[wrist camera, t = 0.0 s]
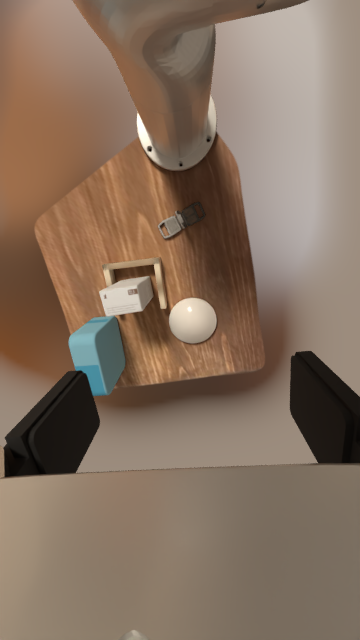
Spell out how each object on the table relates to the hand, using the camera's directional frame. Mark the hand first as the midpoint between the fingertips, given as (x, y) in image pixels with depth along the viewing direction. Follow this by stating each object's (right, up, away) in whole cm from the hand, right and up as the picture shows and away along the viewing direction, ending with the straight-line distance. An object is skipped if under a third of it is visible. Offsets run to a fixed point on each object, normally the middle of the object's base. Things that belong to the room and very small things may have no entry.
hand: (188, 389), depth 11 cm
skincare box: (-9, +10, +36) cm, 39 cm away
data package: (-15, -1, +40) cm, 43 cm away
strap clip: (0, +21, +32) cm, 39 cm away
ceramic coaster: (+2, +3, +38) cm, 38 cm away
